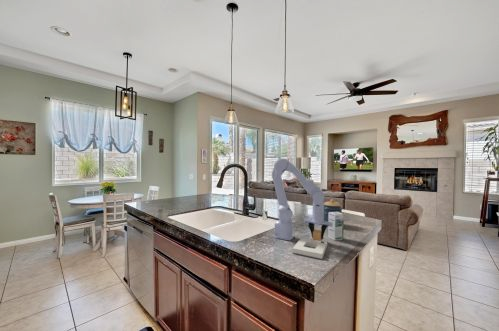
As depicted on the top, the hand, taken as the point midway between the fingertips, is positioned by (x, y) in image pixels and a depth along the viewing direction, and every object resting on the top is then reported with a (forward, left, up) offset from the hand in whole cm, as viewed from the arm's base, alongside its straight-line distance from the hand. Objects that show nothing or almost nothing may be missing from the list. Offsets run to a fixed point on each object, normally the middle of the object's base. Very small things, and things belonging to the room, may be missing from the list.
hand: (317, 238), depth 113 cm
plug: (0, 0, -2) cm, 2 cm away
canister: (+3, +38, -2) cm, 38 cm away
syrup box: (+8, +10, -2) cm, 13 cm away
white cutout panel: (-1, -13, -2) cm, 13 cm away
